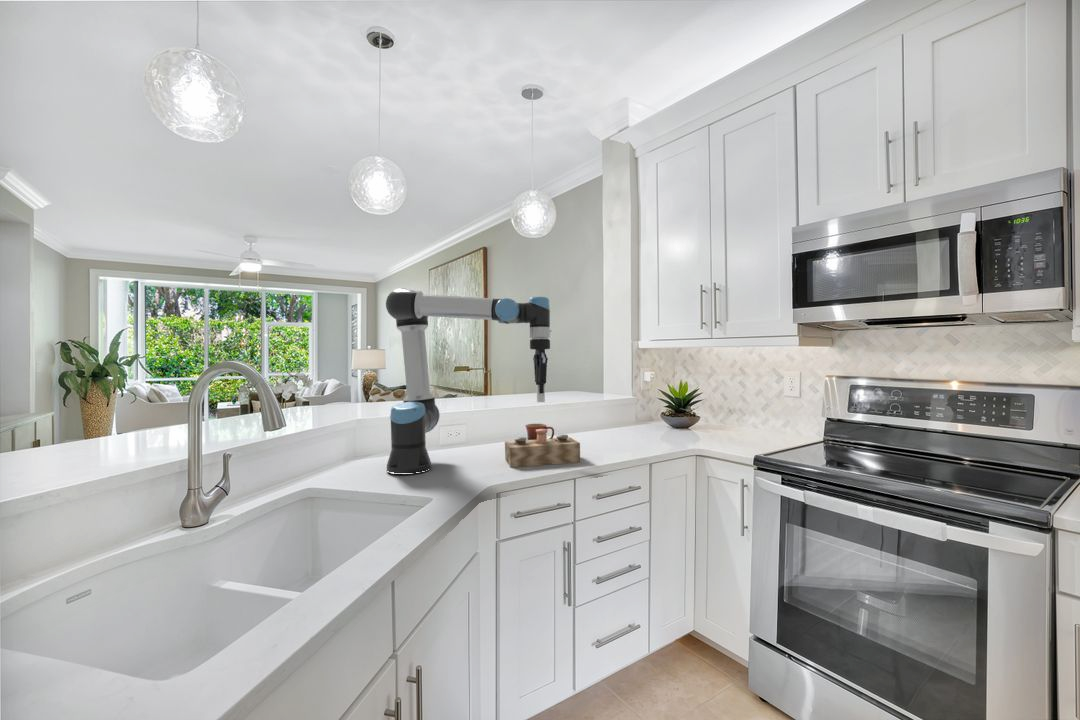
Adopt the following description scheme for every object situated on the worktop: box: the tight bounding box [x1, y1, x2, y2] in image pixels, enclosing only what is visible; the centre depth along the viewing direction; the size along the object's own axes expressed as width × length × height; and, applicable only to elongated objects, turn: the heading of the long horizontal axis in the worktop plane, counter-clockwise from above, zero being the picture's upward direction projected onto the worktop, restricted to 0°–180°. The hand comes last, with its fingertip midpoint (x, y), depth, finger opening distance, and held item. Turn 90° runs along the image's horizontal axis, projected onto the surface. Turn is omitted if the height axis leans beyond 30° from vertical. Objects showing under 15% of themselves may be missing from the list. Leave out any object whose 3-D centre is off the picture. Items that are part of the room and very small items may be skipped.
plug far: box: [556, 434, 569, 443], centre depth 177 cm, size 4×4×9 cm
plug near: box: [514, 436, 527, 445], centre depth 173 cm, size 4×4×9 cm
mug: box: [524, 423, 555, 440], centre depth 195 cm, size 12×9×10 cm
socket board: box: [504, 437, 581, 468], centre depth 175 cm, size 26×12×7 cm, turn 103°
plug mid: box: [536, 429, 548, 444], centre depth 175 cm, size 4×4×9 cm
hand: (540, 401), depth 175 cm, fingers closed
